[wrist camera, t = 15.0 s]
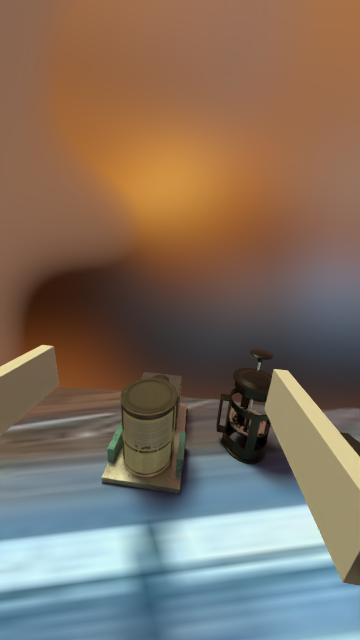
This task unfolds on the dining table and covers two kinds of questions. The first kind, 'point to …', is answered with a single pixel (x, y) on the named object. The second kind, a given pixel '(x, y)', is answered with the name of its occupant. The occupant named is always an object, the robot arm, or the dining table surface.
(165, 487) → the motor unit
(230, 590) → the dining table surface
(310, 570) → the dining table surface
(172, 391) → the coffee can
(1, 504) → the dining table surface
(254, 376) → the french press
